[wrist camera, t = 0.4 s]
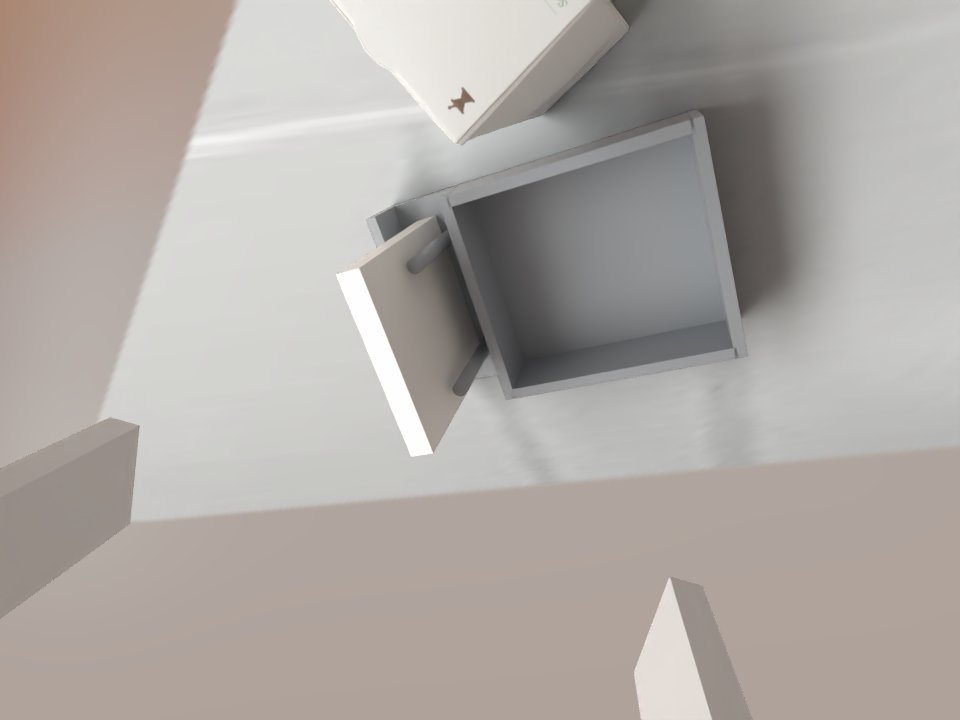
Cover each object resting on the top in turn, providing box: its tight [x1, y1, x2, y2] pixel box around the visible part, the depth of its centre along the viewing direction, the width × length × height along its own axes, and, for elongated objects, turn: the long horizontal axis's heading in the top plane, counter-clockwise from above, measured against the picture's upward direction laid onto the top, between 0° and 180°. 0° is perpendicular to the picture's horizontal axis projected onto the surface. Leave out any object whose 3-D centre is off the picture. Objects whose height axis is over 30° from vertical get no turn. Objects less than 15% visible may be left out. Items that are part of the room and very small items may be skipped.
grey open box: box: [336, 109, 748, 457], centre depth 32 cm, size 18×12×12 cm, turn 109°
